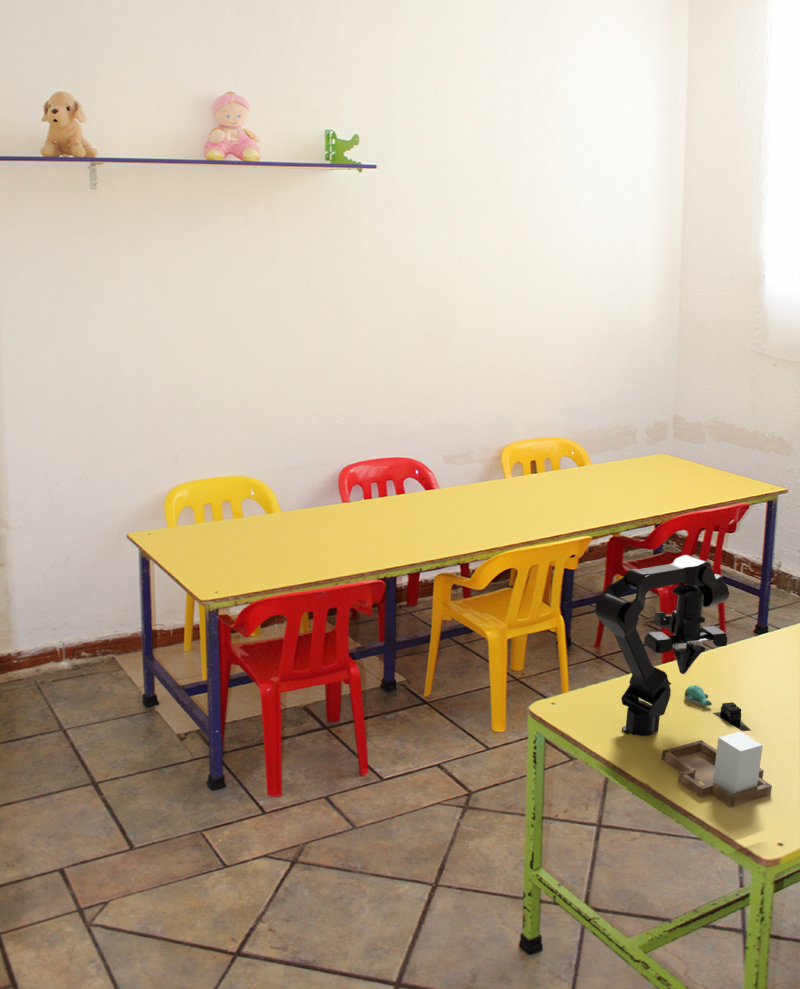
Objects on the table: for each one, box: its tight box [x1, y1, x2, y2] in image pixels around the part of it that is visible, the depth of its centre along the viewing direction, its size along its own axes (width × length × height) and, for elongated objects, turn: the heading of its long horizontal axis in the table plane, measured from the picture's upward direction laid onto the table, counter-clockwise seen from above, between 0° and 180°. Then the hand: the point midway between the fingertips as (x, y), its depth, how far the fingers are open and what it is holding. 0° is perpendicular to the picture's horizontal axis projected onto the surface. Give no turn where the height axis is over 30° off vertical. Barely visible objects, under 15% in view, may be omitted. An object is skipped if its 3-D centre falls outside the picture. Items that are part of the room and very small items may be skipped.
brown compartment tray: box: [661, 739, 773, 808], centre depth 205 cm, size 20×17×3 cm
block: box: [713, 731, 764, 794], centre depth 199 cm, size 6×6×11 cm
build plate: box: [709, 701, 752, 732], centre depth 230 cm, size 12×7×5 cm, turn 12°
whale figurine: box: [684, 684, 713, 708], centre depth 240 cm, size 6×7×4 cm
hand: (682, 673), depth 228 cm, fingers closed
